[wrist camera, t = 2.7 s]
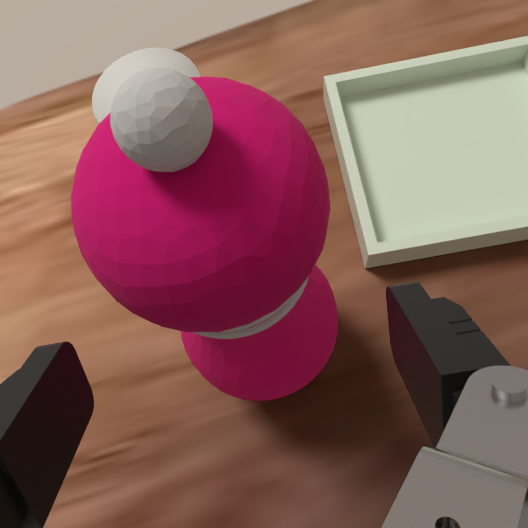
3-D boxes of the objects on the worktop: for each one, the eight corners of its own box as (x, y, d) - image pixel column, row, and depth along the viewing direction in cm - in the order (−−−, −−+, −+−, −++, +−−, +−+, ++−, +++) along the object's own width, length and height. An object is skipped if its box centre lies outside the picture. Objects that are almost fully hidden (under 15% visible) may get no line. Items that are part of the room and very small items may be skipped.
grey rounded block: (134, 202, 30) (92, 149, 25) (131, 123, 32) (91, 58, 27) (227, 186, 30) (206, 129, 24) (218, 108, 32) (196, 38, 26)
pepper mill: (211, 274, 28) (-5, -60, 9) (336, 278, 27) (374, -85, 8) (197, 402, 25) (-135, 297, 7) (334, 411, 25) (381, 316, 6)
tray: (365, 268, 27) (368, 255, 25) (323, 99, 31) (323, 76, 29) (598, 226, 26) (620, 209, 24) (523, 60, 31) (537, 34, 29)
